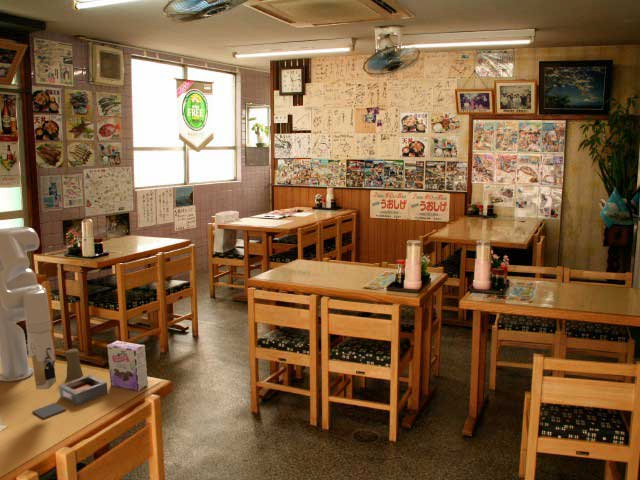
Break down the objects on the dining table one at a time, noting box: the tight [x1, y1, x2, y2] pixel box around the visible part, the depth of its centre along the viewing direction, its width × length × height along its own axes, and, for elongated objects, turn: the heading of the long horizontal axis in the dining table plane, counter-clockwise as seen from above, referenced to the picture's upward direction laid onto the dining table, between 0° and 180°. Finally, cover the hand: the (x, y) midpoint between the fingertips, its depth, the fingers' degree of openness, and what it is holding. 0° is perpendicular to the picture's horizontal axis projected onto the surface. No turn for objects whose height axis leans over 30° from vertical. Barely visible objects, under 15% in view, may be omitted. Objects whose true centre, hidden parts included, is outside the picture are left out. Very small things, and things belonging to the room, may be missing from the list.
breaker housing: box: [58, 374, 109, 407], centre depth 220 cm, size 12×12×4 cm
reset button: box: [73, 384, 92, 392], centre depth 220 cm, size 7×7×2 cm
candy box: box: [106, 340, 149, 392], centre depth 227 cm, size 14×6×16 cm, turn 65°
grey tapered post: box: [64, 348, 84, 380], centre depth 238 cm, size 6×6×11 cm
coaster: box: [32, 402, 67, 420], centre depth 209 cm, size 8×8×1 cm
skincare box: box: [31, 355, 57, 390], centre depth 206 cm, size 6×4×12 cm
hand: (45, 375), depth 206 cm, fingers closed on skincare box, 7 cm apart
